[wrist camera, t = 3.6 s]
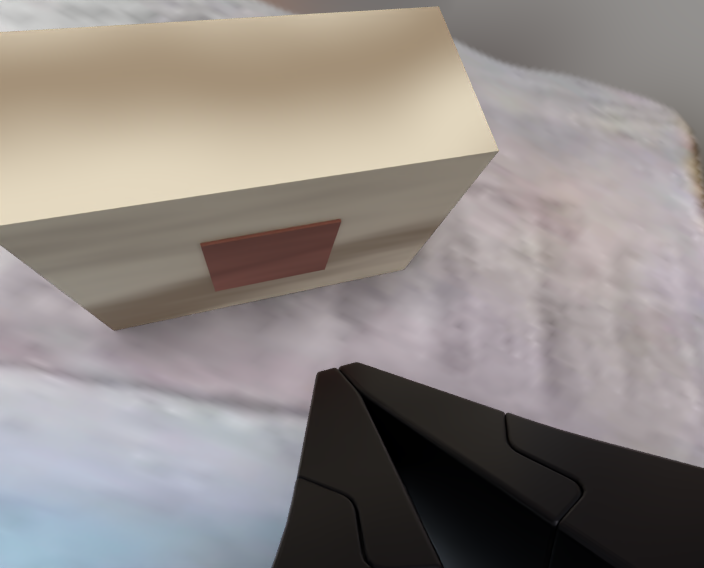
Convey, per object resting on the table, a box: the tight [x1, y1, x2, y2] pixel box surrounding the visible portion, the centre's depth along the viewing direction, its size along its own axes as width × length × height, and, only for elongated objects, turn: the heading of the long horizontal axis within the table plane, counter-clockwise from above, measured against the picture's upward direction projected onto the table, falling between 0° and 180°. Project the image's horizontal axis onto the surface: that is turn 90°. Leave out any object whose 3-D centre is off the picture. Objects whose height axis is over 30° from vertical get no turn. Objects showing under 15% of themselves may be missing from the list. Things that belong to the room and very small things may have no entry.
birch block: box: [0, 7, 499, 331], centre depth 16 cm, size 5×12×9 cm, turn 106°
